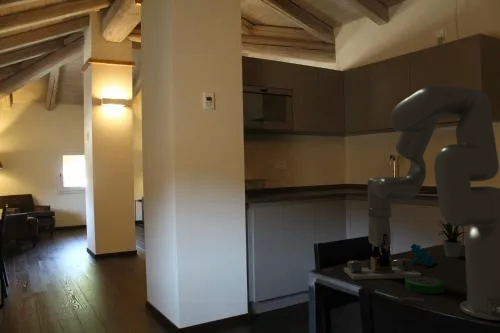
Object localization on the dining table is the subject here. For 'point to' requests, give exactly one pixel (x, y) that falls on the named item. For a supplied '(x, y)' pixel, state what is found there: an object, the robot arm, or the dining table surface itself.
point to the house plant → (452, 240)
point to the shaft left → (357, 265)
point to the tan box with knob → (376, 265)
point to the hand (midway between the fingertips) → (380, 263)
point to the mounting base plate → (381, 273)
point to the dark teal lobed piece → (421, 255)
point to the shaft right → (403, 264)
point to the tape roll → (424, 285)
